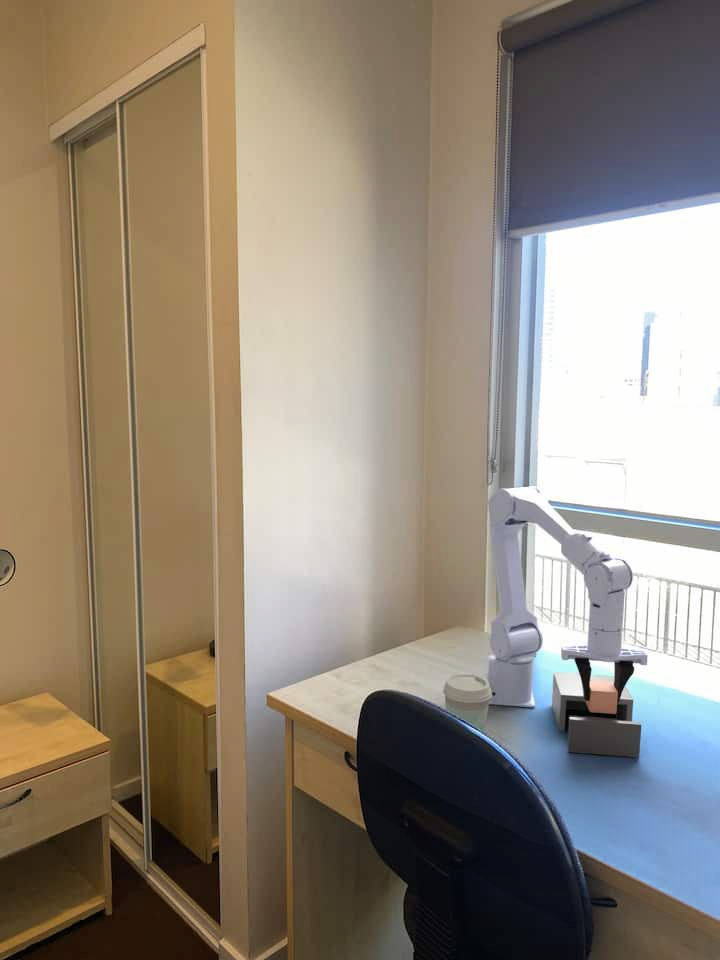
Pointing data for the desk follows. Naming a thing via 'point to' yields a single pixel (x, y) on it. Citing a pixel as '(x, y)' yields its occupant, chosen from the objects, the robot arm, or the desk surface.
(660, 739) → the desk surface
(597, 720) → the tray
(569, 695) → the player housing
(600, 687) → the terracotta block
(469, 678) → the coffee cup
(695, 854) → the desk surface
